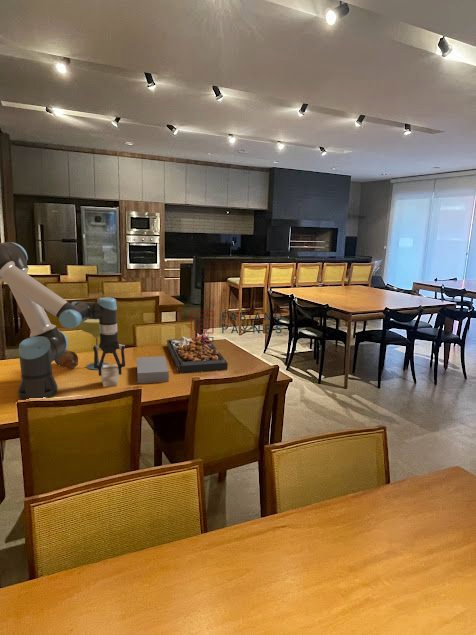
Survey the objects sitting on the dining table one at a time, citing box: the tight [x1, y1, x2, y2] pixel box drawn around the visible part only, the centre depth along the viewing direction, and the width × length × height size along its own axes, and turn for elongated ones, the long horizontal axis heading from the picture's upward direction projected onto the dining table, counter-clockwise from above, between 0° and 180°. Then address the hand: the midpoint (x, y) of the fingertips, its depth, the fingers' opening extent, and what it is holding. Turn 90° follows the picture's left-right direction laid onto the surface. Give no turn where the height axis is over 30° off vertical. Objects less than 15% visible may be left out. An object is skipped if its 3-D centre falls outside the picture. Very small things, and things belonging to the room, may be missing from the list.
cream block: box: [102, 363, 118, 388], centre depth 189 cm, size 6×6×8 cm
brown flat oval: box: [53, 349, 79, 370], centre depth 208 cm, size 15×3×8 cm, turn 62°
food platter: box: [166, 331, 229, 374], centre depth 228 cm, size 45×25×10 cm, turn 17°
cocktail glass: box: [77, 319, 110, 371], centre depth 207 cm, size 18×18×25 cm
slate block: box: [136, 355, 170, 384], centre depth 202 cm, size 14×22×5 cm, turn 14°
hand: (110, 381), depth 189 cm, fingers closed on cream block, 6 cm apart
